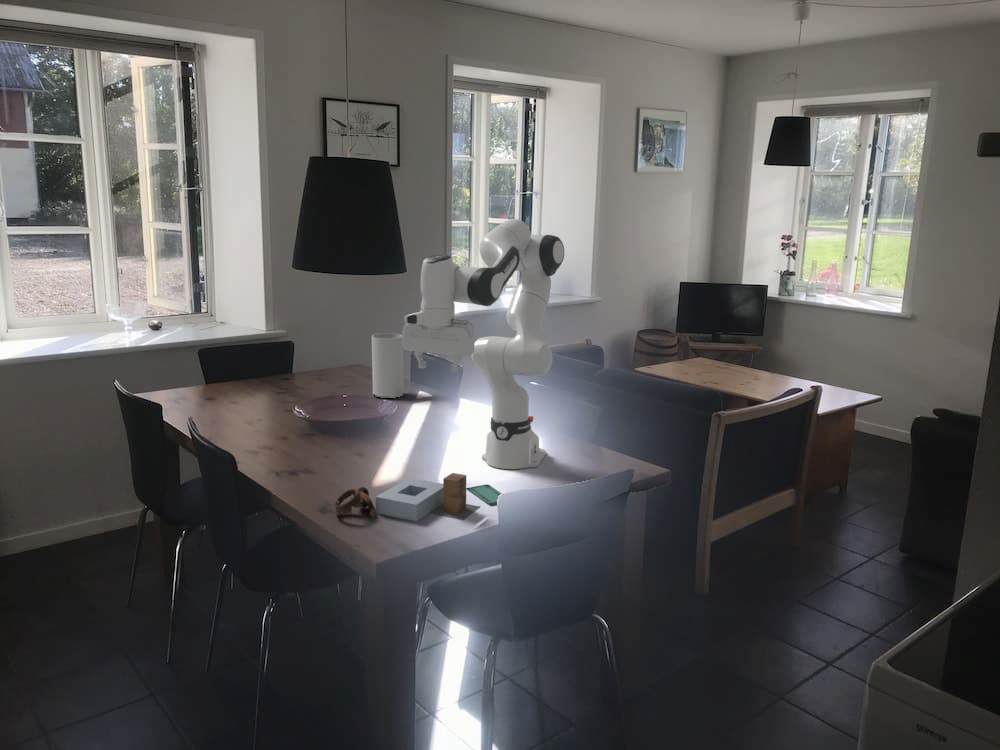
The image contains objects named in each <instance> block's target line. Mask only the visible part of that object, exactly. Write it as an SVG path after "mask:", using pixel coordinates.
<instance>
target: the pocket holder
mask: <svg viewBox="0 0 1000 750" xmlns="http://www.w3.org/2000/svg"><path fill="white" fill-rule="evenodd" d="M441 504H443V483H440V482H435V481H429V480H423V479H418V478H412V477H408V478H407V477H406V479H405V480H402V481H401V482H399V483H397V484H396V485H394V486H391V487H390V488H388V489H386V490H385V491H383V492H381V493H380V494H378V495H376V496H375V512H376V514H379V515H383V516H387V517H393V518H397V519H402V520H407V521H408V520H409V521H411V522H418V521H420V520H421V519H422V518H423V517H425V516H428V514H430V513H429V512H431V511H432V510H434V509H435V508H437V507H438V506H440V505H441Z"/></svg>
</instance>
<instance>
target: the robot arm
mask: <svg viewBox="0 0 1000 750" xmlns="http://www.w3.org/2000/svg"><path fill="white" fill-rule="evenodd" d="M531 232H532V231H531V230H530V227H529V225H527V223H525V222H524V221H523V220H521V219H517V218H512V219H509V220H506V221H504V222H501V223H500V224H498V225H497V226H495V227H494V228H492V229H490V230H489V231H488V232H487V233H486V234H485V235H484V236H483V238H482V239H481V241H480V243H479V254H480V257H481V259H482V261H483V262H484V264H485V265H486V266H487V267H476V266H475V267H473V266H460V265H459V264H457V263H456V262H454V261H453V257H452V256H451V255H450V254H449V255H448V254H432V255H429V256H427V257H426V258H424V259H423V261H422V265H421V271H420V292H421V298H422V299H421V303H420V310H418V311H416V312H414V313H410V314H407V315H405V316H403V321H404V326H403V327H402V334H401V335H402V346H403V350H404V351H410V352H414V357H415V358H416V361H417V362H418V368H419V369H425V368H427V360H424V357H423V356H422V355H423V354H424V353H429V354H430V353H431V354H437V355H438V354H440V355H451V356H452V359H453V360H454V361H453V363H452V364H450V365H449V372H452V373H456V372H458V370H459V367H458V366H459V363H460V361H462V357H469V356H470V357H471V360H472V363H473V364H474V366H475V367H476V368H477V369H478V370H479V371H480V372H481V373H482V375H483V376H484V378H485V379H486V382H487V384H488V386H489V389H490V393H491V406H492V410H491V412H492V416H491V417H490V424H489V425H490V431H489V432H488V433H487V434H486V445H485V453H483V454H482V455H481V459H482V460H484V461H485V462H486V464H487V465H489V466H491V467H493V468H497V469H503V470H520V469H524V468H538V467H539V466H540V464H541V462H542V461H543V459H544V457H545V456H546V455H547V450H546V449H544V448H541V447H540V437H539V436H538V434H537V433H535V432H534V431H533V430H532V426H531V425H532V423H533V421H534V416H533V415H529V409H530V408H529V406H530V403H529V401H530V396H529V394H528V391H527V390H526V389H525V388H524V387H523V386H521V385H520V384H519V383H518V382H517V380H516V379H515V376H523V377H538V376H544V375H546V374H547V373H548V372H549V370H550V369H551V367H552V365H553V359H554V358H553V352H552V349H551V348H550V346H549V344H547V342H546V341H545V339H544V338H543V335H542V324H543V320H544V316H545V314H546V310H547V307H548V304H549V299H550V296H551V290H552V278H551V277H552V276H553V275H555V274H556V272H557V270H558V269H559V268H560V267H561V265H562V263H563V261H564V259H565V246H564V243H563V241H562V240H561V238H560V237H558V236H556V235H553V234H545V235H543V234H532V233H531ZM515 272H521V276H520V279H519V280H518V282H517V285H516V286H515V289H514V291H513V294H512V297H511V300H510V303H509V305H508V309H507V312H506V315H505V316H506V317H505V318H506V321H507V325H508V326H509V327H510V328H511V329H512V330H513V331H514V332H516V334H515V337H507V336H496V335H492V336H489V335H488V336H483V337H479V338H477V339H476V341H474V326H473V324H472V323H471V322H470V321H469V320H467V319H463V320H462V319H456V318H455V317H456V316H455V312H456V311H455V308H456V306H455V303H461V304H473V305H478V306H483V307H490V306H492V305H493V304H494V303H496V302H497V300H498V299H499V298H500V296H501V295H502V291H503V288H504V287H505V286H506V285H507V283H508V282H509V281H510V280H511V277H513V275H514V273H515ZM514 375H515V376H514Z"/></svg>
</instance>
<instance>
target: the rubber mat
mask: <svg viewBox="0 0 1000 750" xmlns="http://www.w3.org/2000/svg"><path fill="white" fill-rule="evenodd" d="M480 508H481V506H479V505H474V504H469V503H466V508H465V509H464V510H463V511H461V512H460V513H459V514H452V513H447V512H444V510H443V504H441V505H440V506H438V507H437V508H435V509H434V510H432V511H431V512H429V513H428V514H431V515H435V516H441V517H446V518H451V519H456V520H461V521H464V520H465V519H466V518H468V517H469V516H470V515H472V514H473V513H475V512H476V511H478V510H479V509H480Z"/></svg>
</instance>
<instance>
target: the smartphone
mask: <svg viewBox="0 0 1000 750" xmlns="http://www.w3.org/2000/svg"><path fill="white" fill-rule="evenodd" d="M466 491H468V492H469V493H471V494H472V495H473V496H475V497H476V498H478V499H479V500H480V501H482V502H483V503H485V504H486V505H487V506H489V507H495V506H496V507H498V505H497V499H498V496H499V495H500V494H503V493H501V491H500V490H497V489H496V488H494V487H493V486H491V485H490V484H482V485H477V486H470V487H466Z"/></svg>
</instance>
